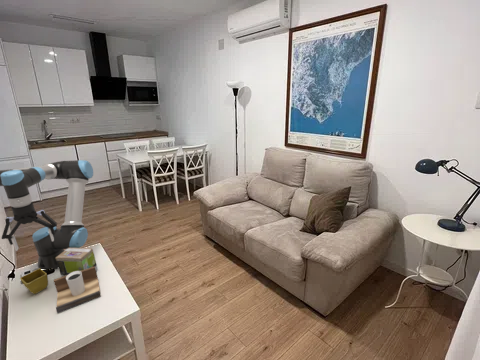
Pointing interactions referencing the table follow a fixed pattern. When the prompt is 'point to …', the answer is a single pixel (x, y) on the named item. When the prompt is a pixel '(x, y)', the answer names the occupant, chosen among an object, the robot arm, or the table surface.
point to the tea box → (75, 260)
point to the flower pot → (35, 281)
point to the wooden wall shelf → (69, 301)
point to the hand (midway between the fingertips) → (35, 244)
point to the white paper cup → (75, 283)
